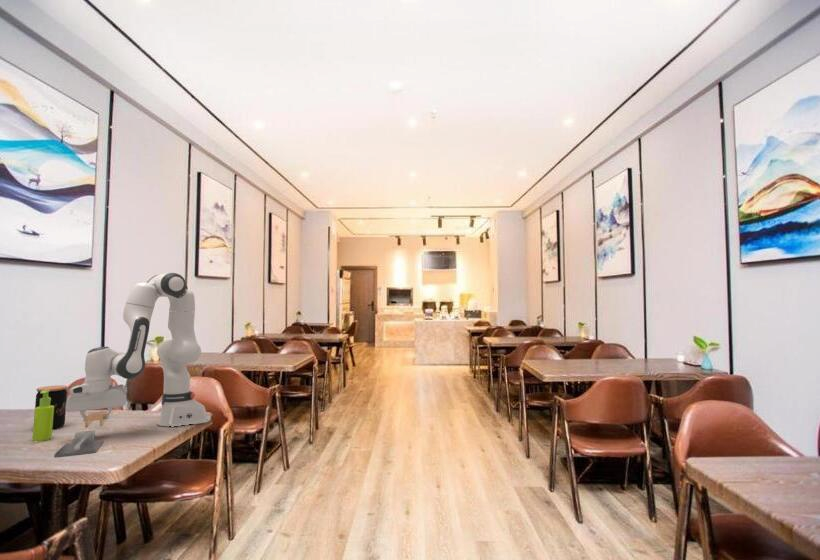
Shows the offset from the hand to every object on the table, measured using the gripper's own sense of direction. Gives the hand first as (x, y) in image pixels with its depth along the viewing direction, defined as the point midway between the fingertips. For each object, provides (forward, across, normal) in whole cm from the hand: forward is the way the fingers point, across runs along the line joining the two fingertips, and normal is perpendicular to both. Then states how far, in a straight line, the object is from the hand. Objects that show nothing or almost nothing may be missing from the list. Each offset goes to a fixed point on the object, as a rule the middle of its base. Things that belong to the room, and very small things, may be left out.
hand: (96, 419), depth 174 cm
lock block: (+2, 0, 0) cm, 2 cm away
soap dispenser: (+7, +19, -5) cm, 21 cm away
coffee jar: (+7, +22, -26) cm, 35 cm away
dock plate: (+7, +2, +16) cm, 17 cm away
